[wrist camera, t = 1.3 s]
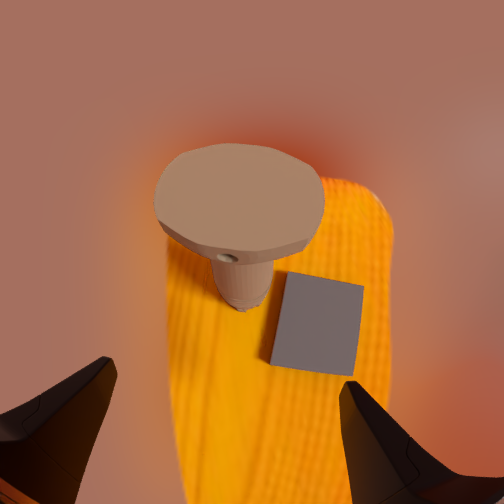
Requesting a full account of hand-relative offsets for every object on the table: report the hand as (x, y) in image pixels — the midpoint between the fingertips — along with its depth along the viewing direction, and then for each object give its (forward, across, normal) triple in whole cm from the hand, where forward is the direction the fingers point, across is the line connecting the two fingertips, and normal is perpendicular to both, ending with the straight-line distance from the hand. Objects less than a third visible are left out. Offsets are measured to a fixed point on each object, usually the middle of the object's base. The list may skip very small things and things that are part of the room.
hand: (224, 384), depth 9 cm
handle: (+14, 0, +4) cm, 15 cm away
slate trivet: (+12, -6, +6) cm, 15 cm away
